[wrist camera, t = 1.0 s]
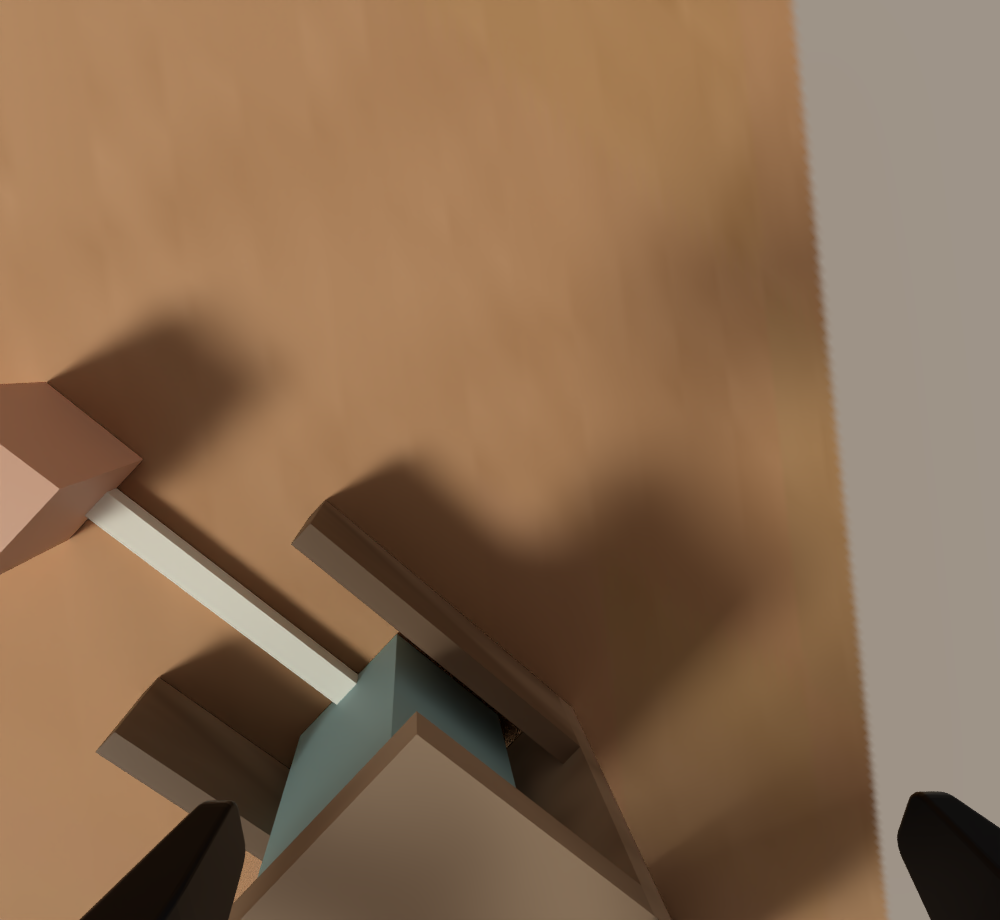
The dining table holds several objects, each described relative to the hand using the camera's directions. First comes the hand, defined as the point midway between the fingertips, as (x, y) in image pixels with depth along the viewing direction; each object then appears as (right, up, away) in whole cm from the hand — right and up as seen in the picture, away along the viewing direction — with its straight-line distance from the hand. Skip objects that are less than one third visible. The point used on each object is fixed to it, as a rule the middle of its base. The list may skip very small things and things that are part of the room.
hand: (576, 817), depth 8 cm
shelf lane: (-6, -4, +13) cm, 15 cm away
